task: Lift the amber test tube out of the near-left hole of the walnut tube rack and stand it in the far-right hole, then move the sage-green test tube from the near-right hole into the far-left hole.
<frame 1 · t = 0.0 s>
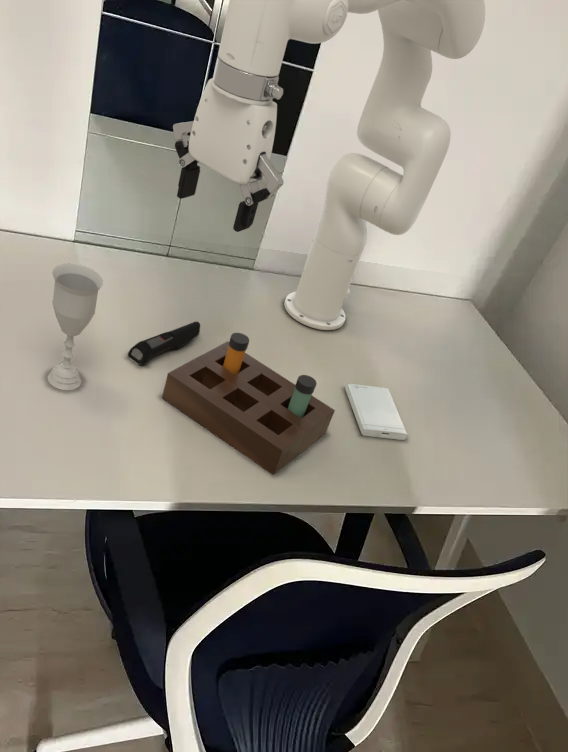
hand: (213, 212, 106), 31 cm above the table, tool pointing down, fingers open, 9 cm apart
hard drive: (373, 415, 138), on the table
amber tube: (225, 387, 131), resting in rack
rack: (245, 416, 127), on the table
electric trimmer: (163, 349, 135), on the table
chalice: (64, 380, 122), on the table
sage tube: (288, 429, 128), resting in rack
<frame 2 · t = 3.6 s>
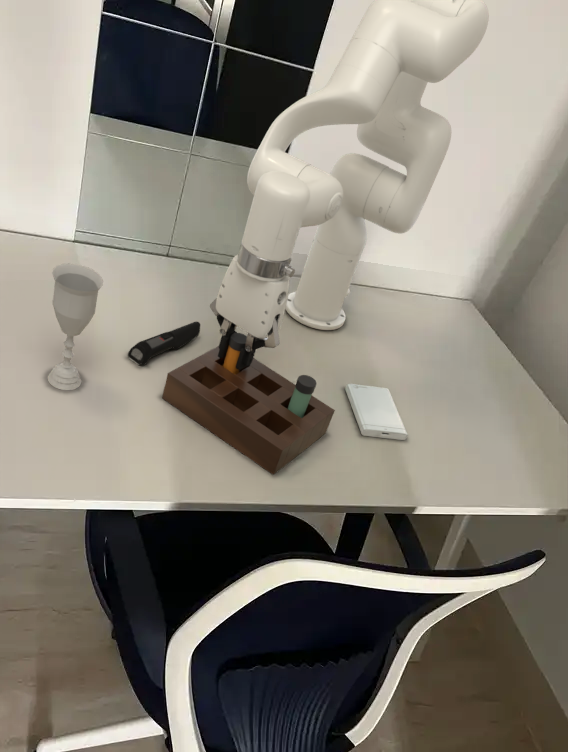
hand: (233, 359, 128), 6 cm above the table, tool pointing down, fingers closed on amber tube, 3 cm apart
amber tube: (225, 387, 131), resting in rack, touching gripper
everything else where it was.
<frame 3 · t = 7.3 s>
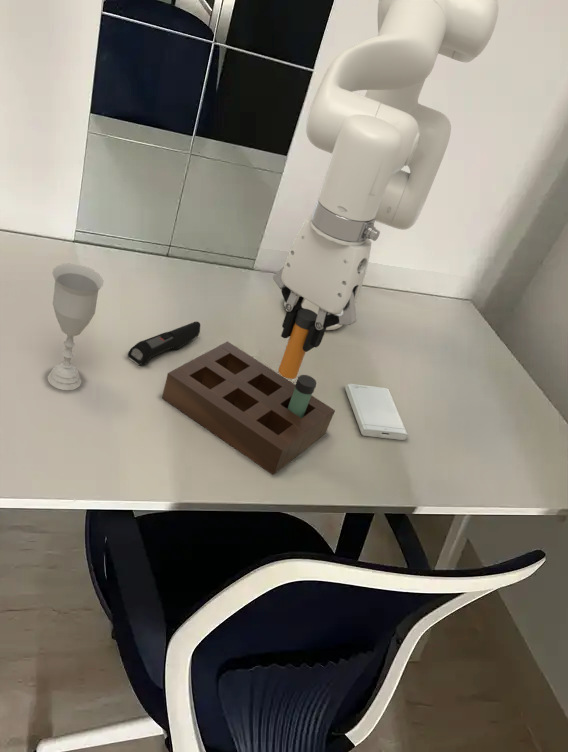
hand: (299, 340, 111), 19 cm above the table, tool pointing down, fingers closed on amber tube, 3 cm apart
amber tube: (287, 373, 115), point 14 cm above the table, touching gripper
everything else where it was.
when the fingers open (8 cm above the table, at t = 11.4 s): amber tube drops 2 cm, resting in rack.
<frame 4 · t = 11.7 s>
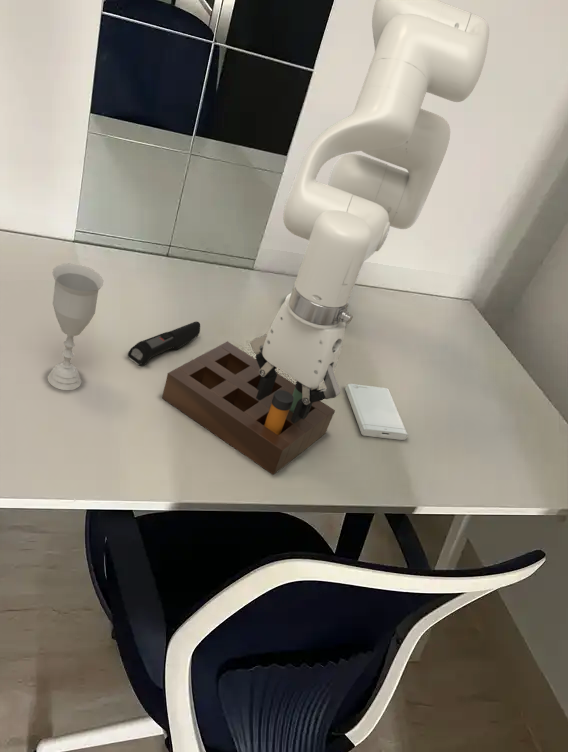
hand: (280, 406, 118), 8 cm above the table, tool pointing down, fingers open, 5 cm apart
amber tube: (266, 446, 123), resting in rack
everything else where it was.
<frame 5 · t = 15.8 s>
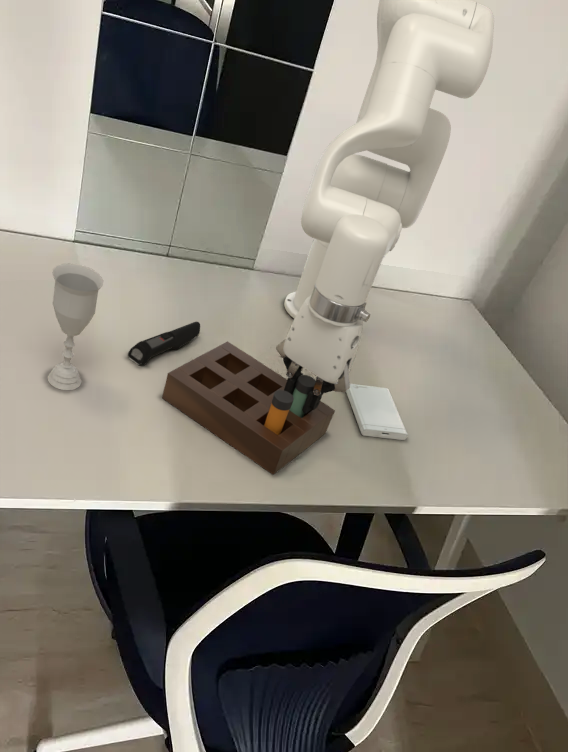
hand: (299, 402, 124), 6 cm above the table, tool pointing down, fingers closed on sage tube, 3 cm apart
sage tube: (288, 429, 128), resting in rack, touching gripper
everything else where it was.
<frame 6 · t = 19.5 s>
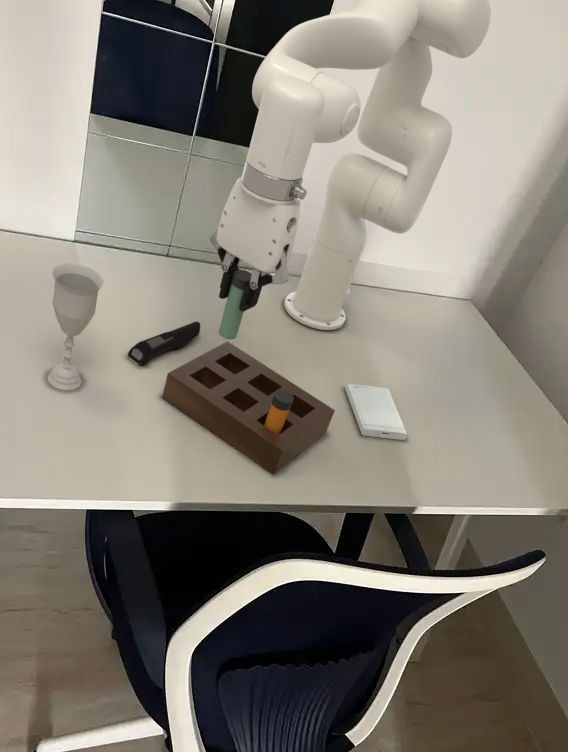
hand: (236, 301, 114), 19 cm above the table, tool pointing down, fingers closed on sage tube, 3 cm apart
sage tube: (227, 334, 118), point 14 cm above the table, touching gripper
everything else where it was.
when the fingers open (8 cm above the table, at t = 23.6 s): sage tube drops 2 cm, resting in rack.
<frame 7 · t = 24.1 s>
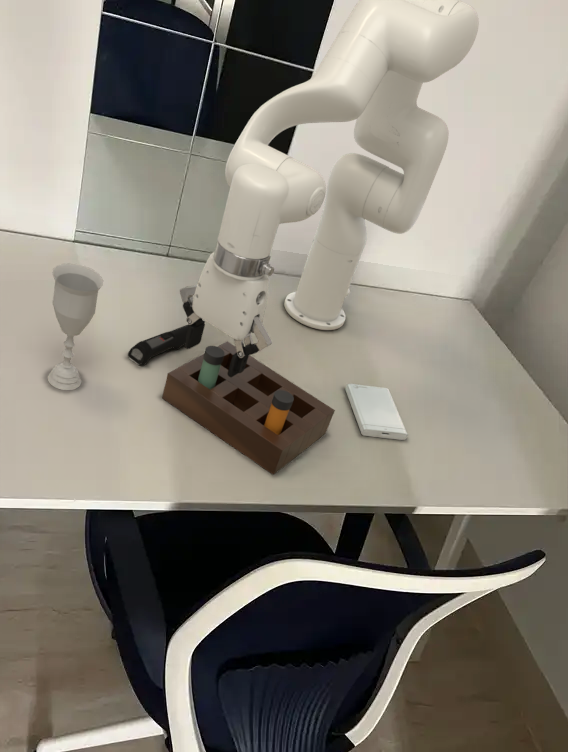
hand: (213, 358, 121), 9 cm above the table, tool pointing down, fingers open, 7 cm apart
sage tube: (201, 402, 127), resting in rack
everything else where it was.
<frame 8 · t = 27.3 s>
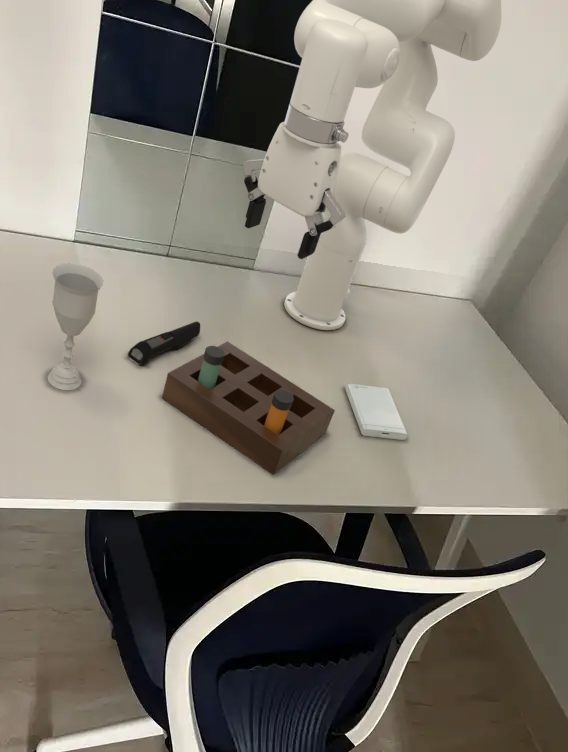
hand: (277, 240, 117), 26 cm above the table, tool pointing down, fingers open, 9 cm apart
nothing on the table moved.
at the end: amber tube 0.0 cm from the target spot in the rack, point 0.0 cm above the rack's base; sage tube 0.0 cm from the target spot in the rack, point 0.0 cm above the rack's base; amber tube tilted 0° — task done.
